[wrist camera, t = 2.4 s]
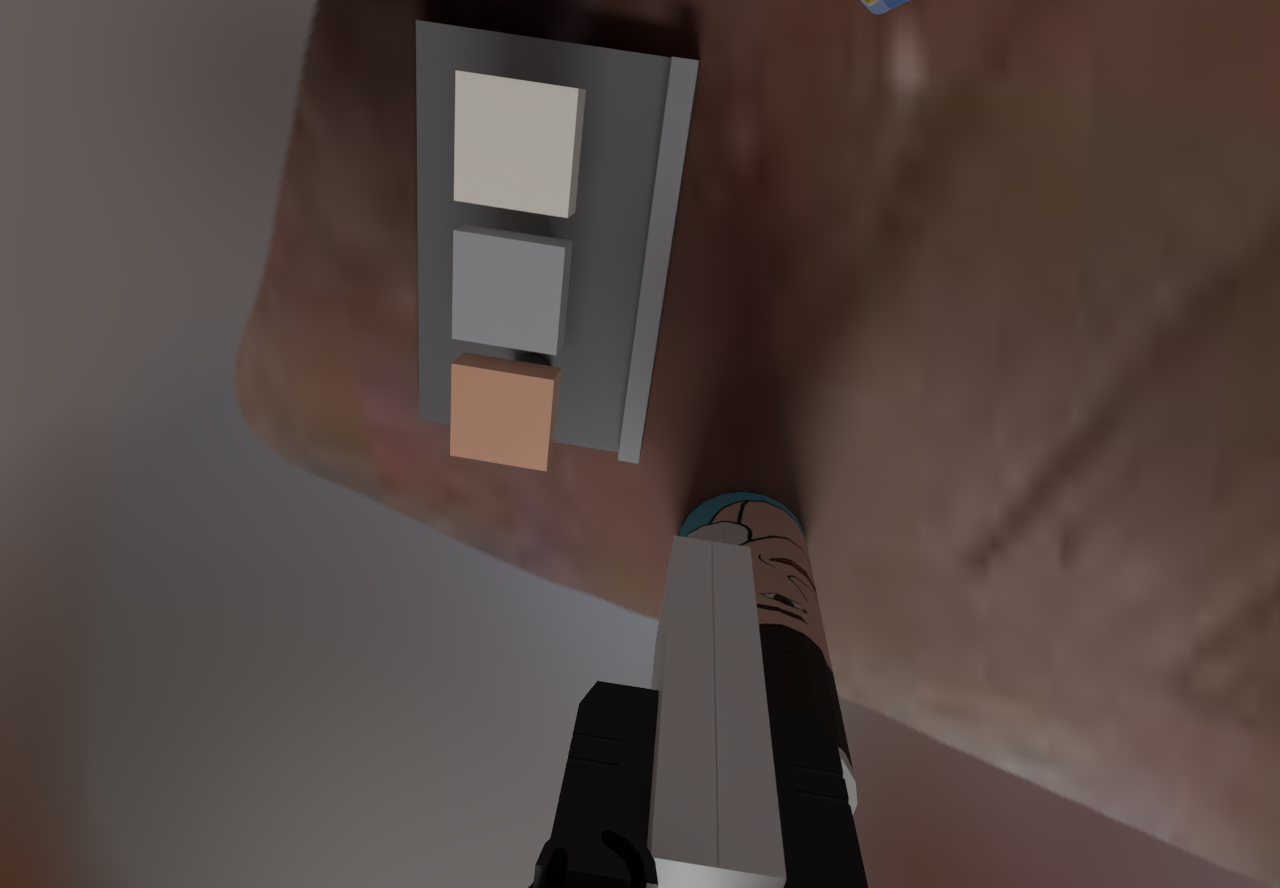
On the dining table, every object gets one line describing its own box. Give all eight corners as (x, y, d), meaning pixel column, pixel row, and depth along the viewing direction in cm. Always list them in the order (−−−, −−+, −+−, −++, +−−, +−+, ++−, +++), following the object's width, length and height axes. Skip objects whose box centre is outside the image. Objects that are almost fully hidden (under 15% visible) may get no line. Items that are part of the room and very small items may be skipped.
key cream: (469, 72, 24) (455, 69, 22) (586, 89, 23) (578, 88, 22) (466, 195, 25) (453, 200, 24) (575, 212, 25) (567, 218, 24)
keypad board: (427, 23, 28) (402, 16, 26) (700, 63, 27) (698, 59, 25) (428, 410, 35) (408, 430, 33) (642, 445, 35) (637, 468, 33)
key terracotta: (463, 352, 28) (451, 363, 27) (561, 367, 28) (554, 380, 27) (461, 440, 30) (450, 455, 28) (553, 456, 30) (546, 471, 28)
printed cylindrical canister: (801, 600, 38) (847, 868, 25) (678, 595, 39) (657, 853, 25) (810, 493, 35) (868, 730, 22) (677, 490, 36) (654, 719, 22)
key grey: (466, 224, 26) (453, 230, 24) (572, 240, 26) (565, 247, 24) (463, 328, 28) (452, 338, 26) (563, 344, 27) (556, 355, 26)
